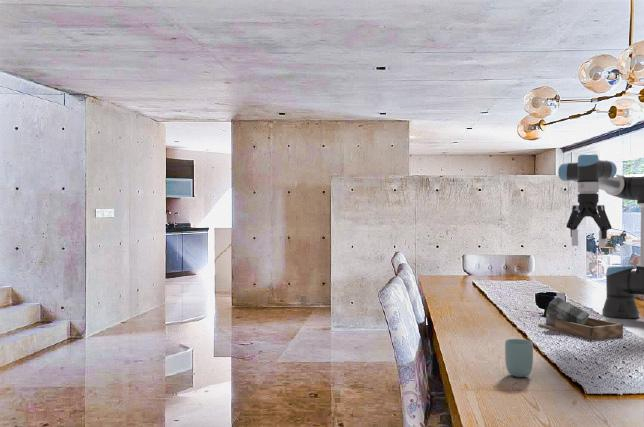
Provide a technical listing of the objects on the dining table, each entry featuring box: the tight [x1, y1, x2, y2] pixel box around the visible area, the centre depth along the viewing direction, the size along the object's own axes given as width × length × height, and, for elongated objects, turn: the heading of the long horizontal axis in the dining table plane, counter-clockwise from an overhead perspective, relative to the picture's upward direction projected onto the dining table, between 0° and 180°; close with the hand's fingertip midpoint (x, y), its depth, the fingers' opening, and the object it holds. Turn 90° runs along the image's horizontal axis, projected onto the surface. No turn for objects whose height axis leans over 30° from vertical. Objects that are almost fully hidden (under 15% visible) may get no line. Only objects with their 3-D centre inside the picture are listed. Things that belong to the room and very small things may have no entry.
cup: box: [504, 338, 534, 378], centre depth 176 cm, size 8×8×10 cm
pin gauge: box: [556, 291, 566, 301], centre depth 250 cm, size 3×3×13 cm
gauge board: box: [537, 313, 624, 340], centre depth 240 cm, size 16×28×5 cm, turn 23°
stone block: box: [545, 296, 590, 325], centre depth 242 cm, size 9×14×5 cm, turn 44°
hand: (588, 246), depth 236 cm, fingers open, 13 cm apart
